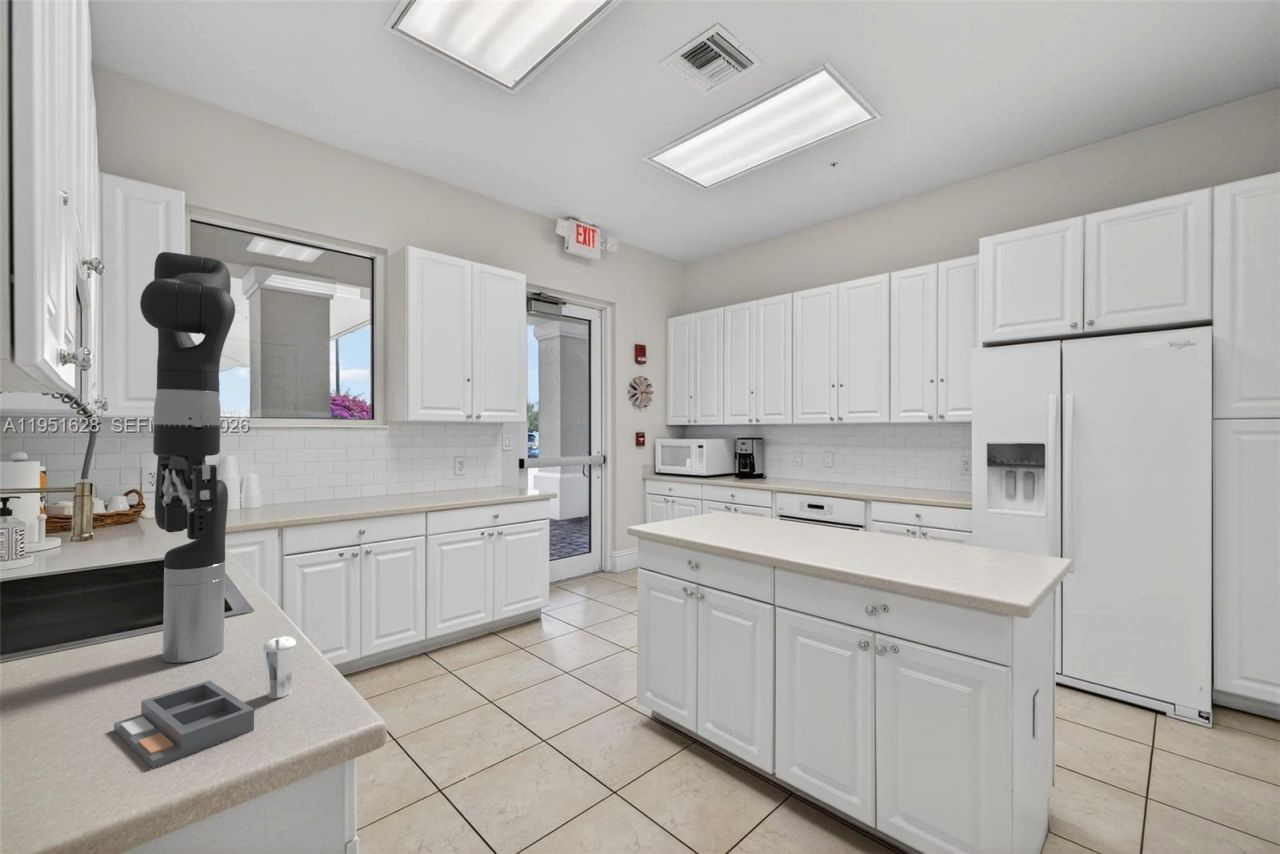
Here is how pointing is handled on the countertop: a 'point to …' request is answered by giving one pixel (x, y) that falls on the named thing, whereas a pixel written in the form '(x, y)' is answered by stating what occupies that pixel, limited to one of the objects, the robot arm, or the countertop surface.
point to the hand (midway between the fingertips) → (186, 535)
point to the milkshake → (279, 666)
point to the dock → (185, 722)
